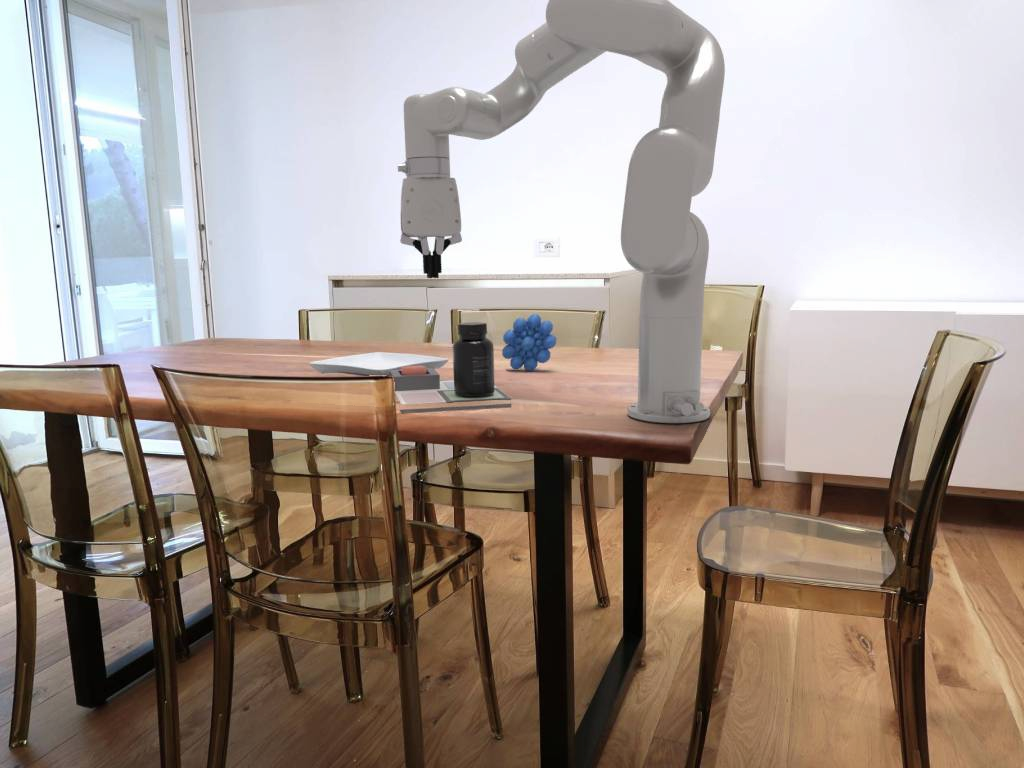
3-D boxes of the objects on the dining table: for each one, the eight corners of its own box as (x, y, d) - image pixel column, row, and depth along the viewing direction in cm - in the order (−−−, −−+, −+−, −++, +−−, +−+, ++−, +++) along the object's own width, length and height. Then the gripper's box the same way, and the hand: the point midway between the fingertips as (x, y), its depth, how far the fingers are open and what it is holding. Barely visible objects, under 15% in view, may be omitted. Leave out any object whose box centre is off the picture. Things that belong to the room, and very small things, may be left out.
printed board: (512, 408, 136) (512, 398, 135) (402, 414, 131) (402, 404, 131) (486, 386, 156) (486, 378, 155) (390, 391, 151) (389, 382, 151)
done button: (428, 379, 146) (427, 368, 146) (403, 381, 145) (402, 369, 145) (424, 376, 151) (424, 365, 150) (400, 377, 150) (400, 366, 149)
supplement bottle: (496, 391, 142) (495, 321, 140) (491, 398, 135) (490, 325, 133) (457, 390, 143) (455, 321, 141) (450, 398, 136) (448, 325, 134)
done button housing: (439, 388, 145) (439, 374, 145) (394, 391, 143) (393, 376, 143) (433, 381, 153) (433, 368, 153) (389, 383, 151) (389, 370, 151)
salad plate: (378, 364, 187) (377, 349, 186) (451, 372, 175) (451, 356, 175) (306, 377, 170) (305, 361, 169) (382, 387, 158) (381, 369, 157)
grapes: (560, 368, 177) (560, 312, 175) (554, 373, 170) (554, 315, 168) (506, 367, 179) (506, 311, 177) (499, 372, 173) (498, 314, 171)
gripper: (387, 168, 137) (392, 280, 140) (475, 168, 141) (478, 277, 144) (382, 172, 144) (387, 278, 147) (466, 172, 148) (470, 275, 151)
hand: (432, 277), depth 146 cm, fingers closed
